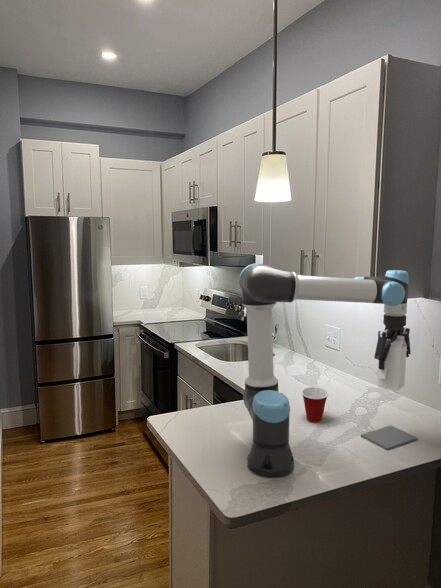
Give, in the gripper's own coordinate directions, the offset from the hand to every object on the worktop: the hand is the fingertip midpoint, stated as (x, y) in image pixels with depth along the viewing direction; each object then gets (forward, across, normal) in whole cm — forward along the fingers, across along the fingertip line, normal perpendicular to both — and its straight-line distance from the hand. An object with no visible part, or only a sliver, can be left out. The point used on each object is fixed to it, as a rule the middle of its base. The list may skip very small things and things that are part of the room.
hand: (391, 375), depth 161 cm
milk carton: (+4, 0, 0) cm, 4 cm away
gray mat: (+24, 0, 0) cm, 24 cm away
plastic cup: (+24, -13, +26) cm, 38 cm away
